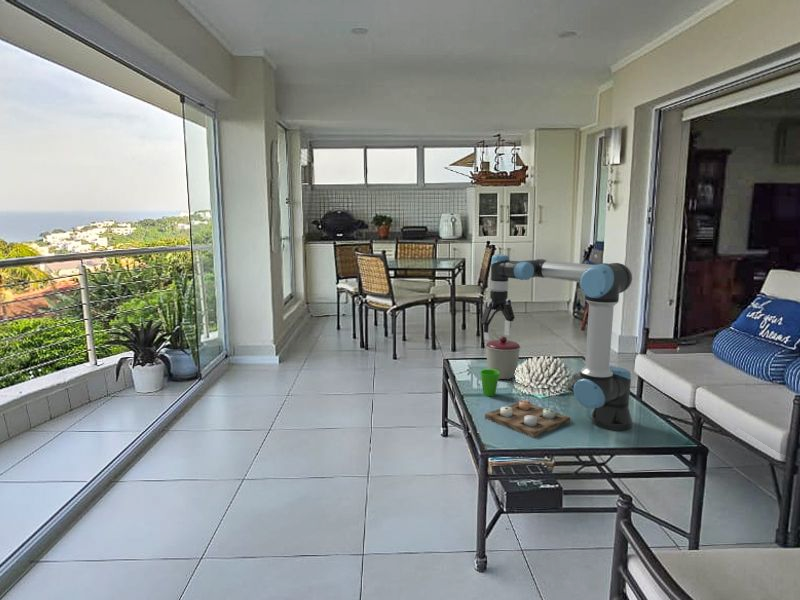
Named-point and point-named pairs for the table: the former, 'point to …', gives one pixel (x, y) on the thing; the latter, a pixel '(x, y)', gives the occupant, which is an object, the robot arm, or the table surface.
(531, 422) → the button blank
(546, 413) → the button two
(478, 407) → the table surface
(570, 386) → the mineral rock
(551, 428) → the panel
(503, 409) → the button one
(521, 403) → the button three
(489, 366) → the canister
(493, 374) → the cup
